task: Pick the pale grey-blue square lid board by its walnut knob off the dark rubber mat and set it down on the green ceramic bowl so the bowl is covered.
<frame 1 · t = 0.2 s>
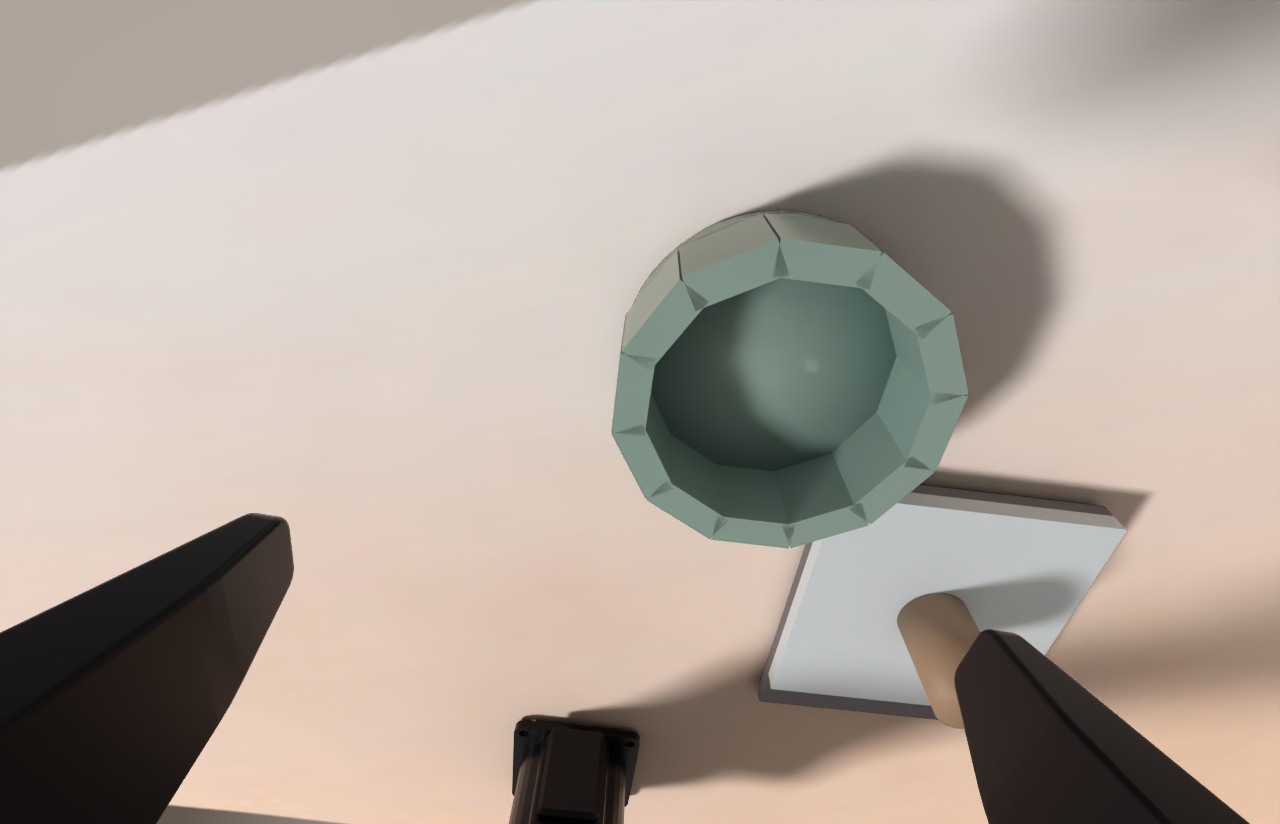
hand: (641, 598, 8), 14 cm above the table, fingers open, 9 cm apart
lid: (924, 602, 26), point 1 cm above the table, touching mat
mat: (911, 608, 27), on the table
bowl: (765, 357, 22), on the table
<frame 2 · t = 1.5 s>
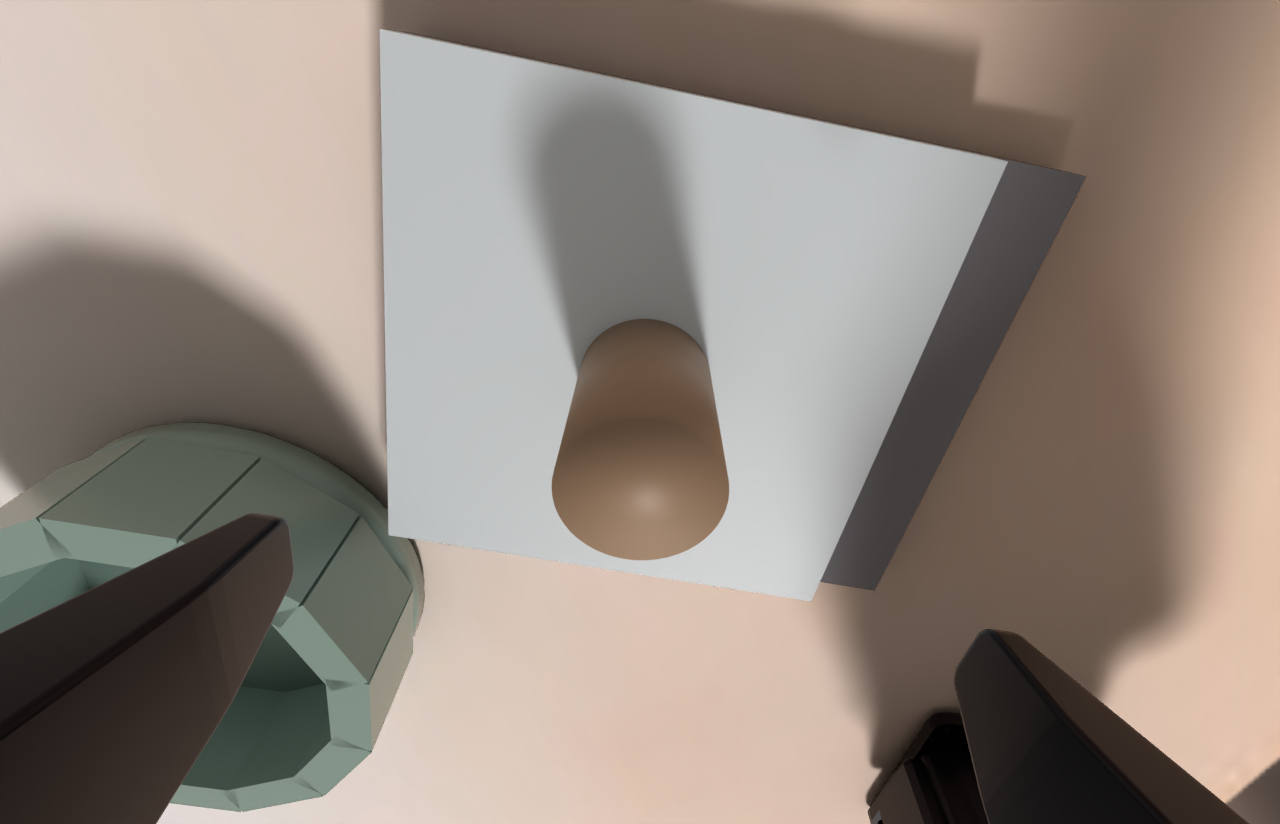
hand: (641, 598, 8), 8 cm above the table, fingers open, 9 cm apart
lid: (645, 364, 14), point 1 cm above the table, touching mat
mat: (687, 361, 15), on the table
bowl: (253, 570, 18), on the table
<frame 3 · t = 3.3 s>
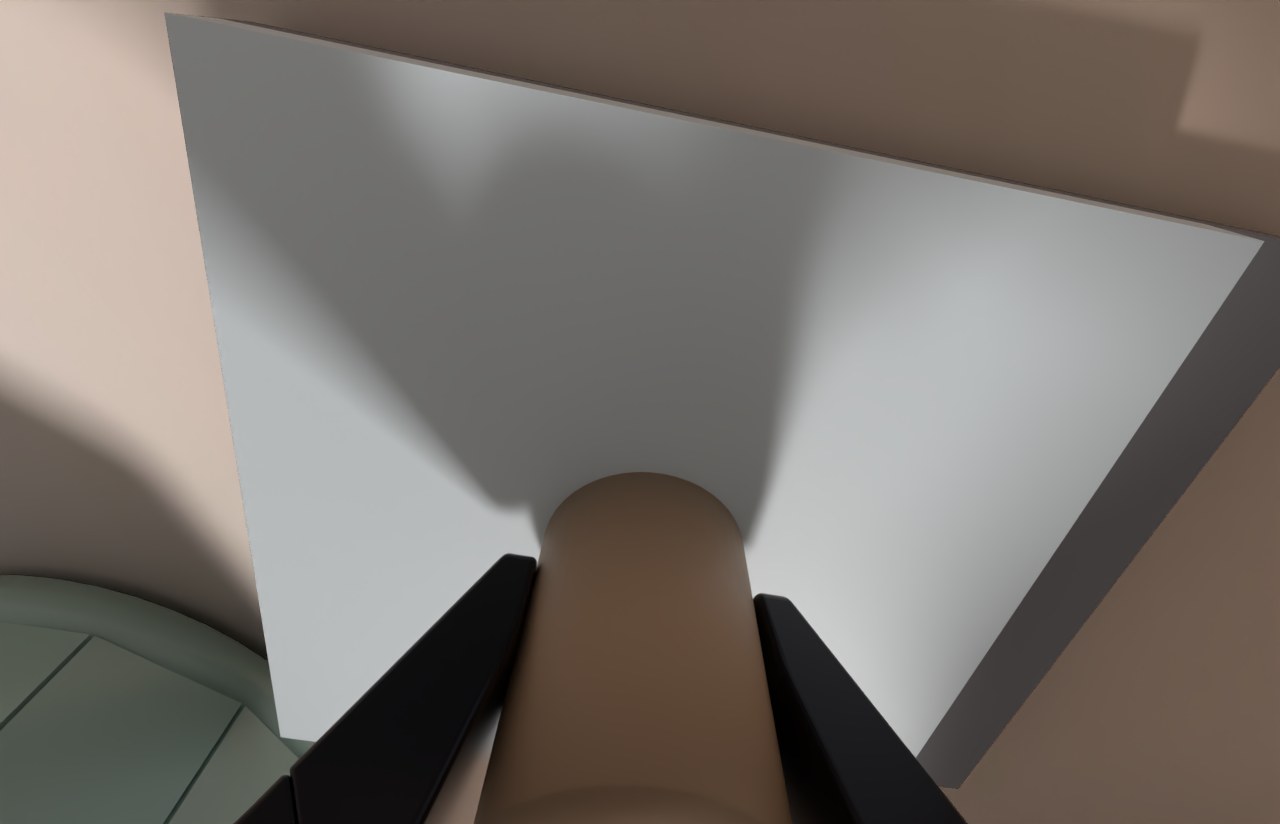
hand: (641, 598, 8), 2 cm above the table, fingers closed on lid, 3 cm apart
lid: (644, 518, 9), point 1 cm above the table, touching gripper, mat
mat: (705, 504, 10), on the table
bowl: (120, 744, 14), on the table
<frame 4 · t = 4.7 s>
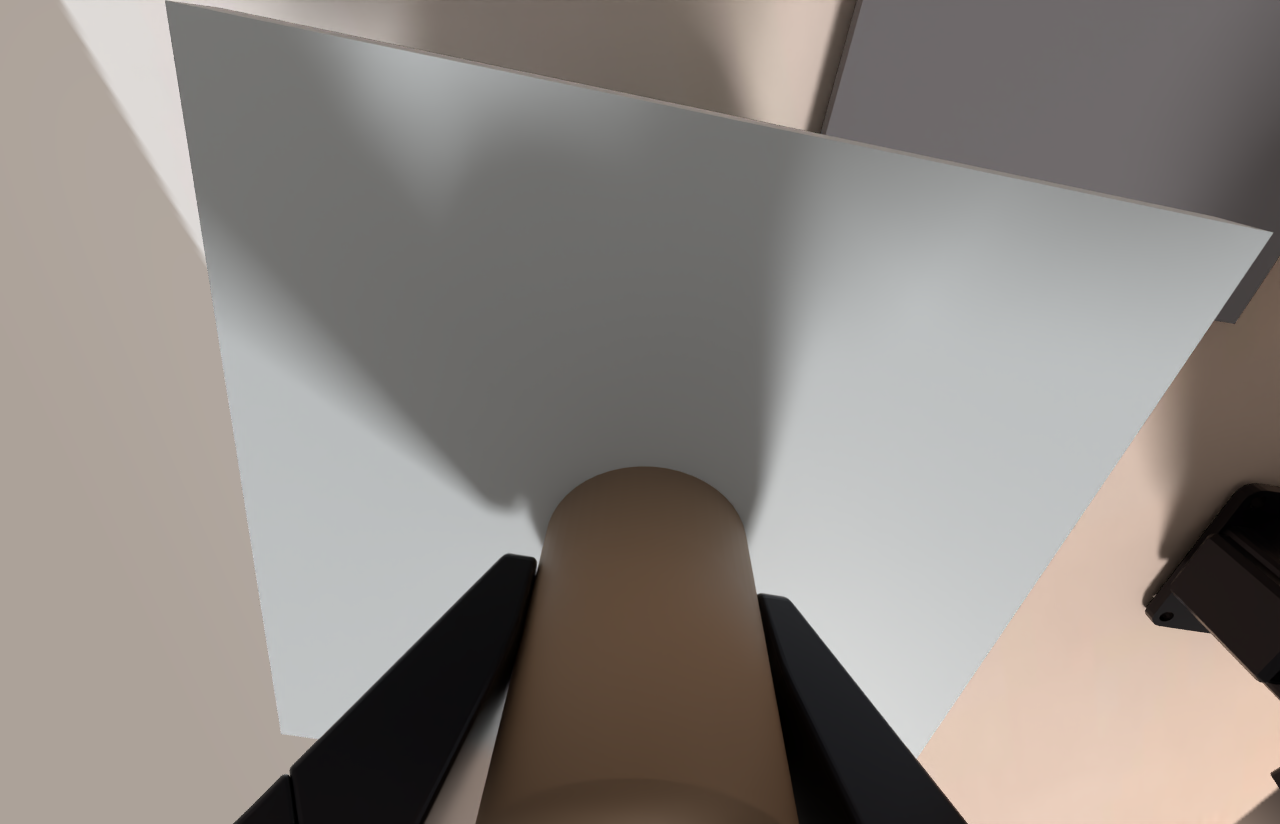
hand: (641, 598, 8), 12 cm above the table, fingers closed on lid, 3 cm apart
lid: (646, 513, 9), point 11 cm above the table, touching gripper
mat: (1104, 68, 15), on the table
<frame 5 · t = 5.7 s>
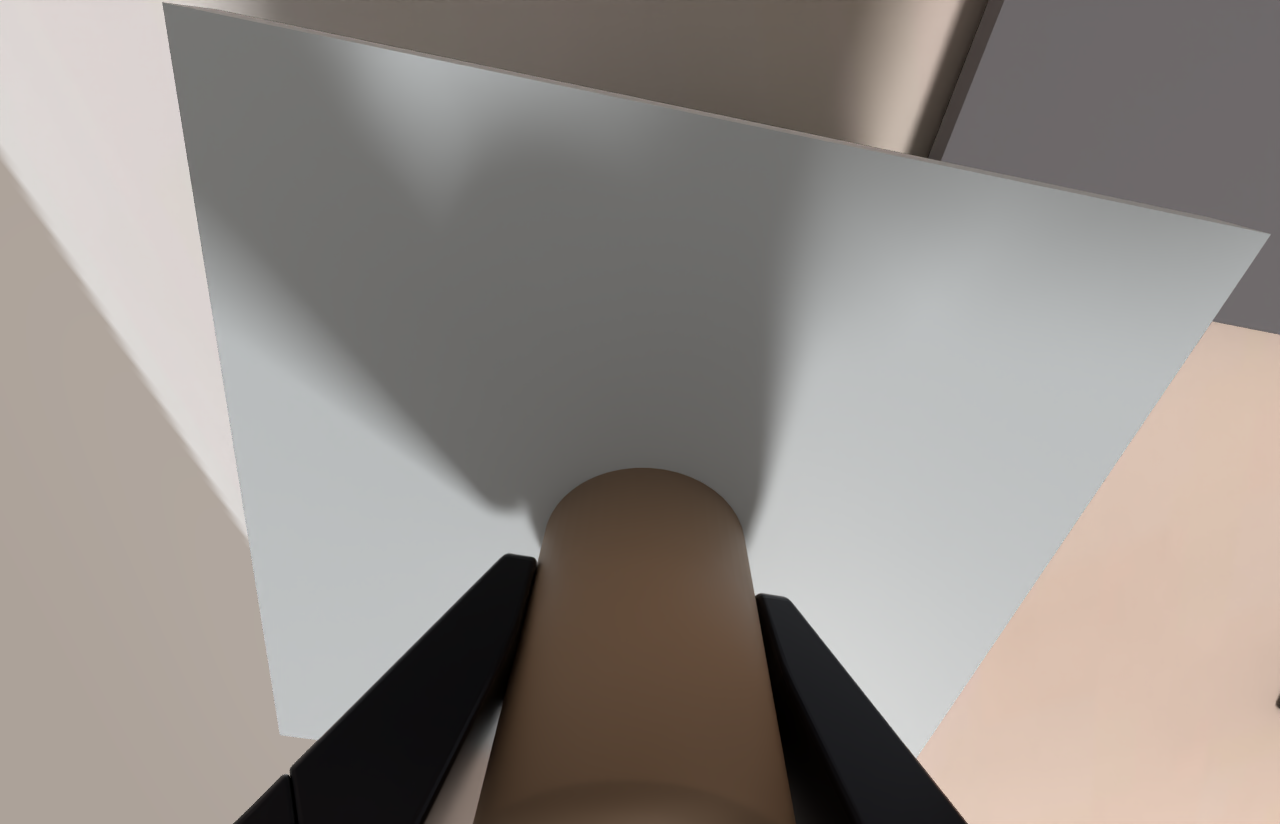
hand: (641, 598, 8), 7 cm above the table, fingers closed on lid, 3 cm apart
lid: (645, 514, 9), point 5 cm above the table, touching gripper
when the fingers open (6 cm above the table, at t = 6.4 s): lid stays where it is, resting on bowl.
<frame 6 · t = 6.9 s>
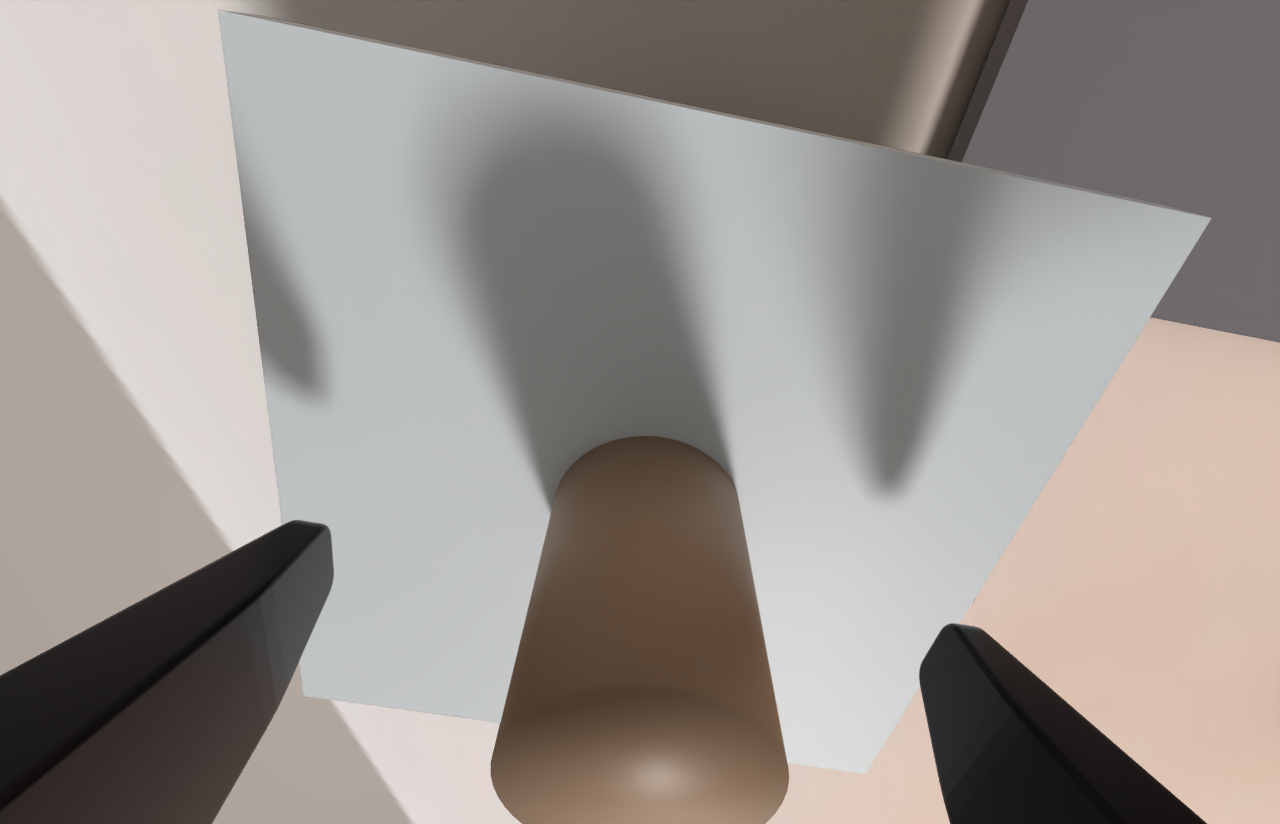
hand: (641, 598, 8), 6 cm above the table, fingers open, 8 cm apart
lid: (647, 484, 10), point 4 cm above the table, touching bowl
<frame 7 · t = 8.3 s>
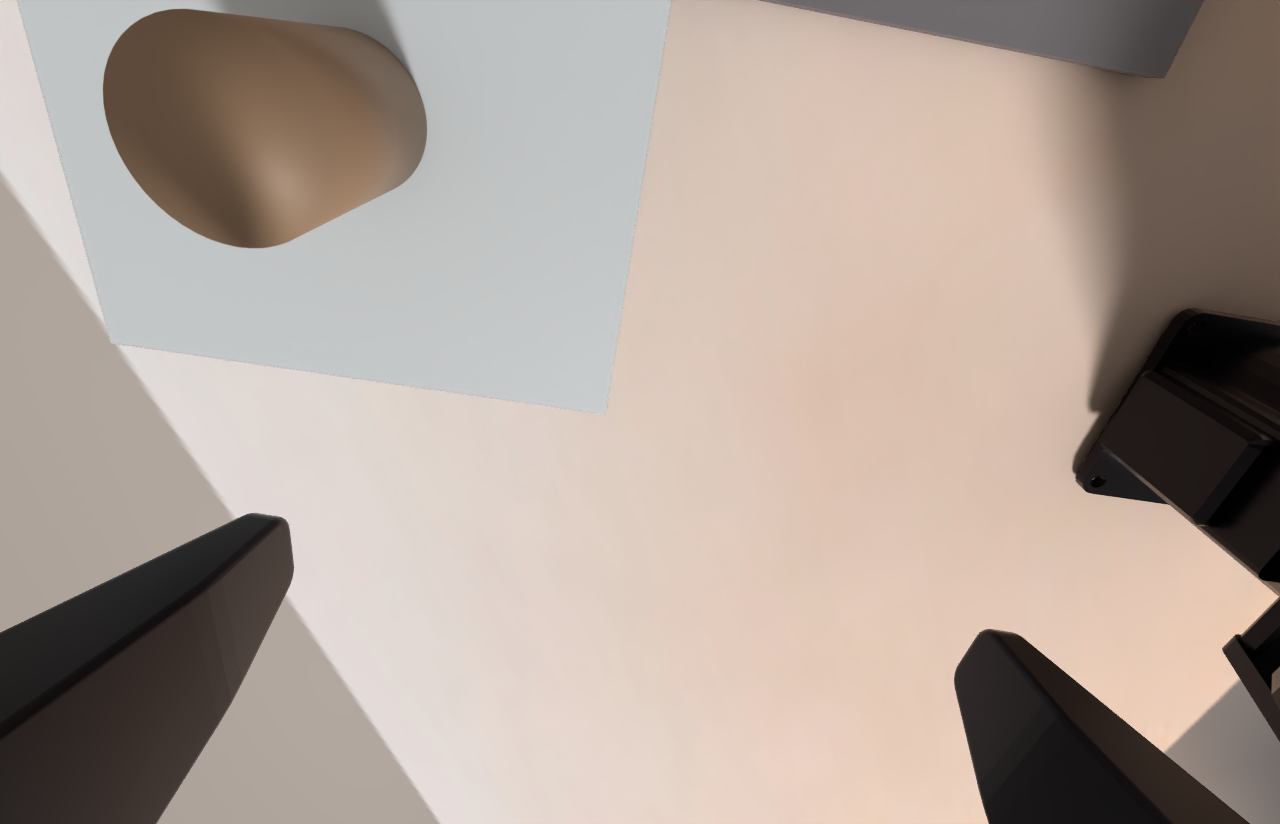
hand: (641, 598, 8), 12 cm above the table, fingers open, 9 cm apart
lid: (367, 112, 12), point 4 cm above the table, touching bowl
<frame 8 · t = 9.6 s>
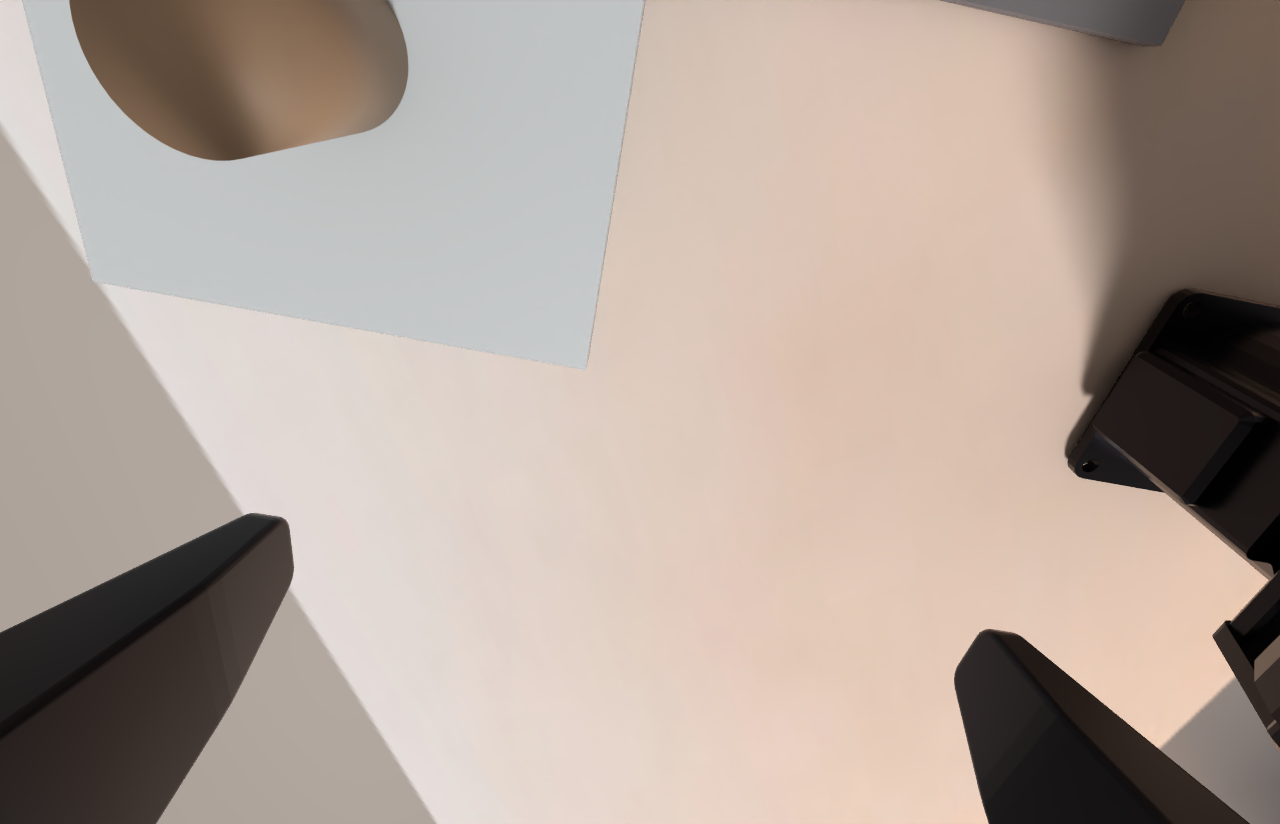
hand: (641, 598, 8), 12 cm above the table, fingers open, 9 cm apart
lid: (350, 51, 12), point 4 cm above the table, touching bowl
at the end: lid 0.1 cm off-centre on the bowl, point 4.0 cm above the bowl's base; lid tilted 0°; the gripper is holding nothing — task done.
